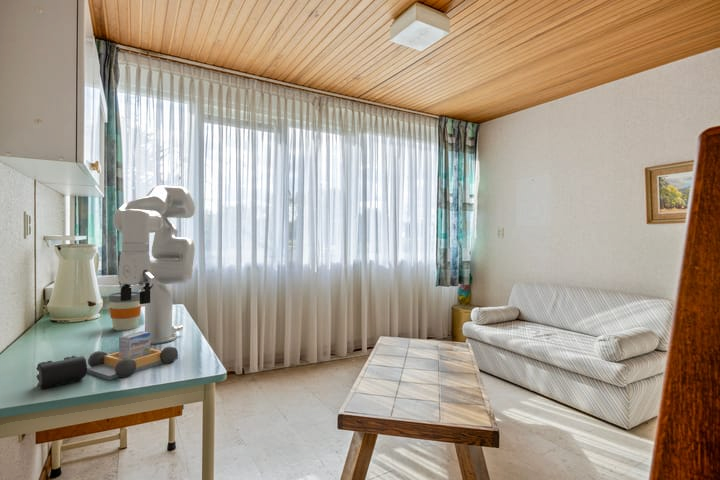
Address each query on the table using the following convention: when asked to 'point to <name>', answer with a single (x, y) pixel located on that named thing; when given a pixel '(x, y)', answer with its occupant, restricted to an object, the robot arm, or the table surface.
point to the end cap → (61, 371)
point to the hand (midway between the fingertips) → (135, 301)
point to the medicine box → (134, 345)
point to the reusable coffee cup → (124, 311)
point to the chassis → (127, 363)
